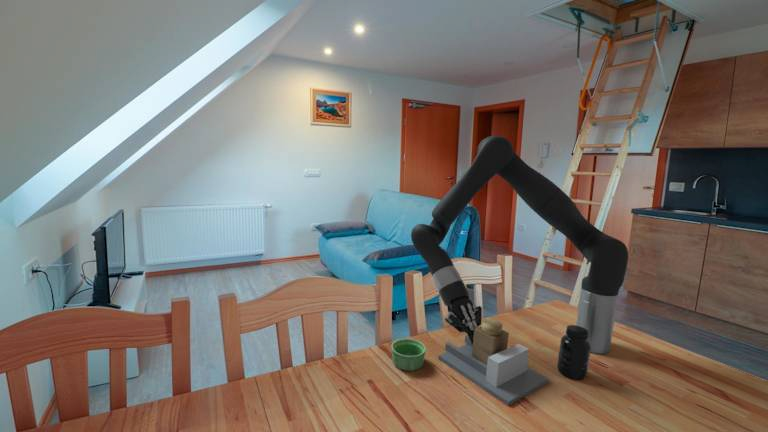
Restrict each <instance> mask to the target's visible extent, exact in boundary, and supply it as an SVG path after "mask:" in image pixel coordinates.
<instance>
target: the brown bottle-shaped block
mask: <svg viewBox="0 0 768 432" xmlns="http://www.w3.org/2000/svg"><path fill="white" fill-rule="evenodd" d="M509 333H510V332H508V331H506V330H504V329H503V324H502V322H501V321H498V320H496V319H491V318H486V319H483V320H481V325H480V326H479V327H478V328H476V329H474V338H473V350H472V356H473V357H474V358H476V359H478V360H479V361H481V362H483V363H484V364H486V365H487V362H488V357H490V356H492V355H494V354H496V353H499V352H501V351H503V350H506V349H508V346H509V345H508V344H509V335H510V334H509Z"/></svg>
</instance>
